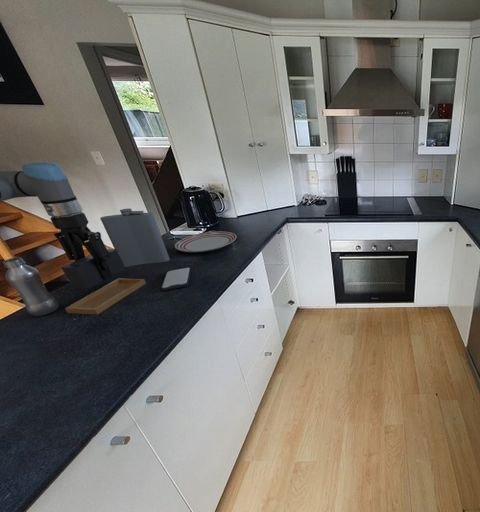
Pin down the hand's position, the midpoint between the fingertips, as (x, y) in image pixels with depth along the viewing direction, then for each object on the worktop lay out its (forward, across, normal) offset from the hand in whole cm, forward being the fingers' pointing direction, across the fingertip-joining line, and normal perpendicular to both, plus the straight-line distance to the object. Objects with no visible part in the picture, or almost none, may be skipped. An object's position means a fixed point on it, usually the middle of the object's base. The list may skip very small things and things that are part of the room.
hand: (100, 277), depth 96 cm
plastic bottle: (+9, -12, -10) cm, 18 cm away
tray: (+8, 0, 0) cm, 8 cm away
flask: (+9, -9, +27) cm, 30 cm away
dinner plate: (+9, +7, +47) cm, 48 cm away
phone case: (+9, +16, +13) cm, 22 cm away
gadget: (0, 0, 0) cm, 0 cm away
